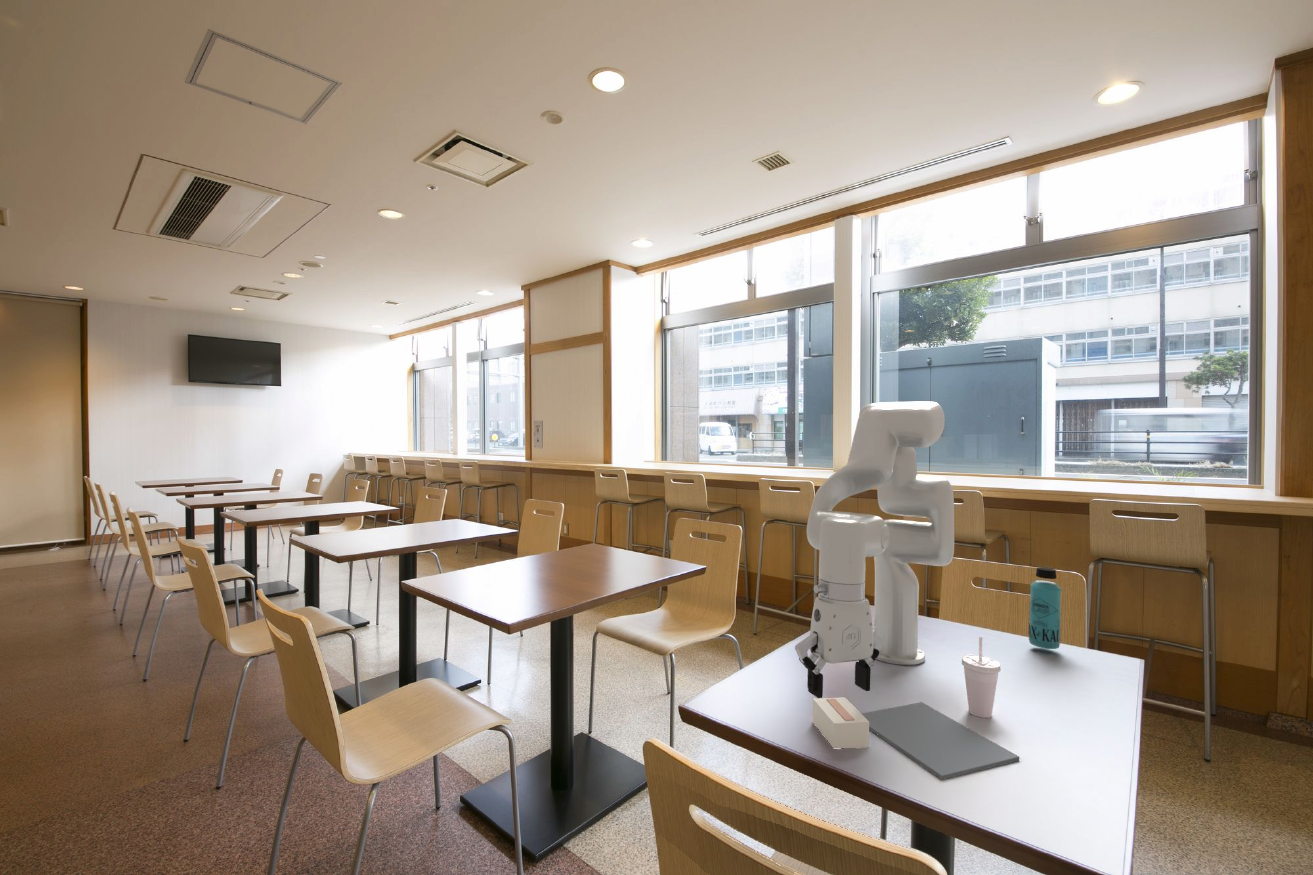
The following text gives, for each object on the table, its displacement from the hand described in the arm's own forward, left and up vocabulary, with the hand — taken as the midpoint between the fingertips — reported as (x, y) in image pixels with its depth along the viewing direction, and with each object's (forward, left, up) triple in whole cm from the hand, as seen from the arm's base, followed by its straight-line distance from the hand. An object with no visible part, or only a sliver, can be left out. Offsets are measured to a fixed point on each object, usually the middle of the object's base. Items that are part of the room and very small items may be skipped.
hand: (839, 691), depth 100 cm
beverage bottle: (-17, +74, -8) cm, 76 cm away
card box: (0, 0, -8) cm, 8 cm away
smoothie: (+2, +31, -8) cm, 31 cm away
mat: (+6, +15, -8) cm, 17 cm away
